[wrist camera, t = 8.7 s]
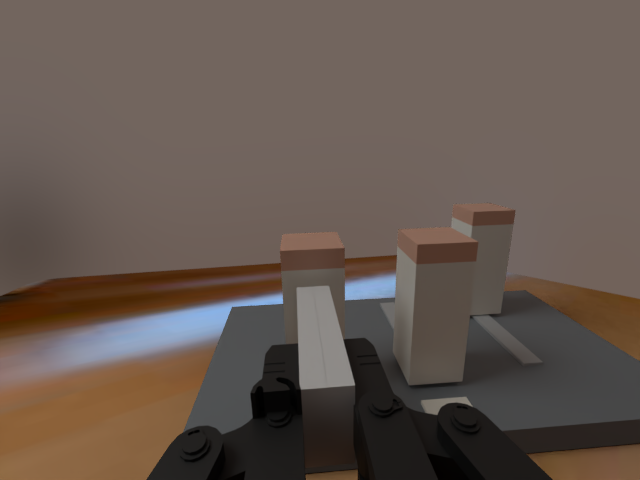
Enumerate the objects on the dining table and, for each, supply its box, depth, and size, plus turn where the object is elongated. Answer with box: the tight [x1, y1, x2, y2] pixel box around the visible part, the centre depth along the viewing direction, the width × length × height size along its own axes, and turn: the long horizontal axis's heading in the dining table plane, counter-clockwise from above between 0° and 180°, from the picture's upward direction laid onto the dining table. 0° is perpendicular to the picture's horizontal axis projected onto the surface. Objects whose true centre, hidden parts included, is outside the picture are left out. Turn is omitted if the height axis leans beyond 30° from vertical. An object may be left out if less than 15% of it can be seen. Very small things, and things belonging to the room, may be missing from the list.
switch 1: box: [393, 227, 478, 385], centre depth 18 cm, size 3×3×8 cm
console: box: [183, 290, 640, 473], centre depth 22 cm, size 26×14×2 cm, turn 94°
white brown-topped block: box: [280, 232, 345, 344], centre depth 18 cm, size 3×3×8 cm
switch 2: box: [451, 203, 515, 315], centre depth 25 cm, size 3×3×8 cm
